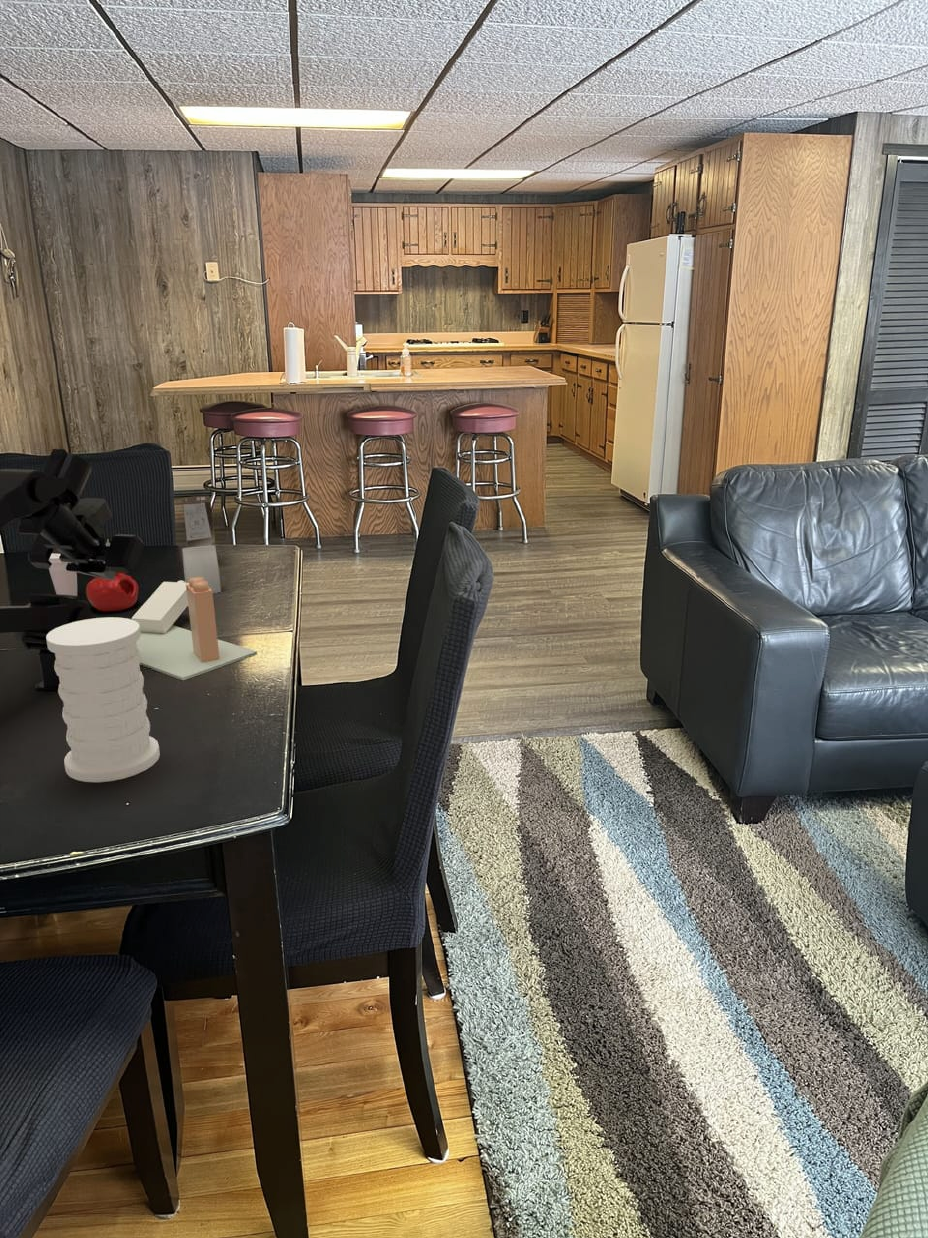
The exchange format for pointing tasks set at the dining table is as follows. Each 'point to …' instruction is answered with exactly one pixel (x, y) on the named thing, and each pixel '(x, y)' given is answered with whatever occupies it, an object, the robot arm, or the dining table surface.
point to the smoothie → (62, 577)
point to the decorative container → (103, 699)
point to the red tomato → (112, 593)
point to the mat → (183, 653)
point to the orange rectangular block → (202, 619)
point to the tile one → (162, 607)
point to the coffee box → (198, 521)
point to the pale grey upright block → (202, 565)
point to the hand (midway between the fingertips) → (112, 577)
